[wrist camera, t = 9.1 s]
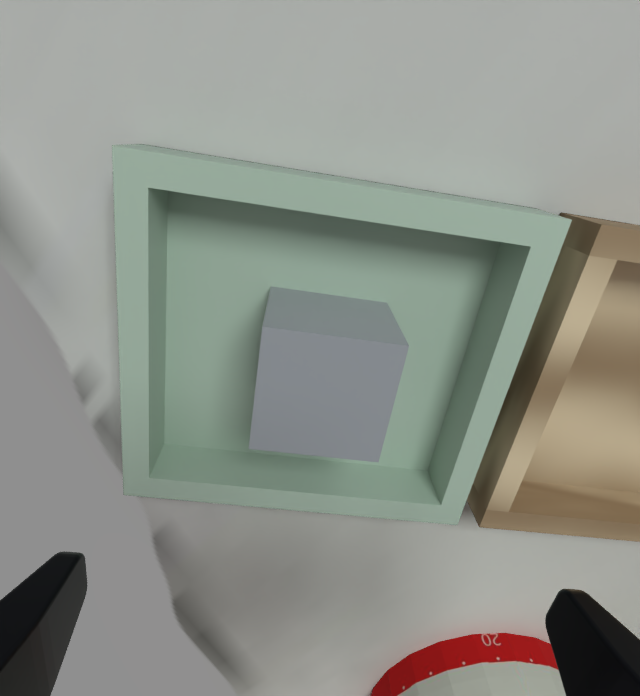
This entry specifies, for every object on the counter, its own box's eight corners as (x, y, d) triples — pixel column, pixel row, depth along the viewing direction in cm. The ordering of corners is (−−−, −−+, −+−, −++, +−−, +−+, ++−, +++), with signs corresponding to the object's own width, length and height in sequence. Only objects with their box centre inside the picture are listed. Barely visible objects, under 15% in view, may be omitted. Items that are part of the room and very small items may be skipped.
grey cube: (364, 401, 19) (378, 462, 16) (258, 389, 19) (248, 449, 15) (387, 302, 18) (409, 345, 14) (270, 286, 17) (262, 326, 14)
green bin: (441, 485, 22) (457, 525, 20) (143, 455, 21) (123, 494, 18) (535, 208, 17) (572, 219, 14) (140, 143, 15) (112, 145, 13)
